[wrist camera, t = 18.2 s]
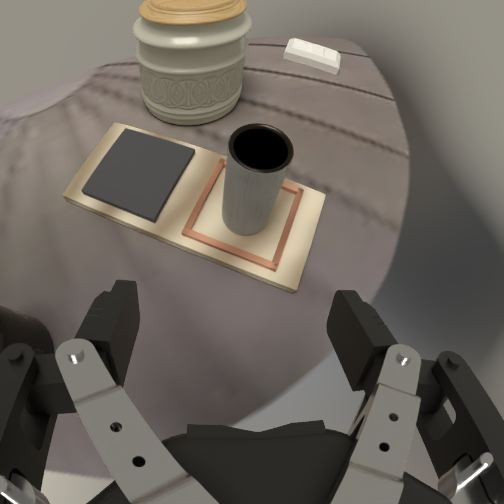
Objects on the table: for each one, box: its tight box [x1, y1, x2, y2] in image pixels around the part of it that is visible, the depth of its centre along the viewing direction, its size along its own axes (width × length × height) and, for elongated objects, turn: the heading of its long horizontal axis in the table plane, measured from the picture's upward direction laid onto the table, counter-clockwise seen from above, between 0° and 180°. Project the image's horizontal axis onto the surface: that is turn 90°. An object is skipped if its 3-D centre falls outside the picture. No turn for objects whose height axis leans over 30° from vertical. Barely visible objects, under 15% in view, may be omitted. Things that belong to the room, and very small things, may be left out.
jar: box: [133, 0, 252, 125], centre depth 28 cm, size 13×13×18 cm
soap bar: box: [283, 38, 340, 75], centre depth 42 cm, size 5×9×3 cm, turn 75°
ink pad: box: [81, 128, 195, 223], centre depth 29 cm, size 9×9×1 cm
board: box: [63, 122, 326, 293], centre depth 30 cm, size 26×11×2 cm, turn 69°
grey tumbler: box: [222, 123, 294, 235], centre depth 25 cm, size 4×4×10 cm
